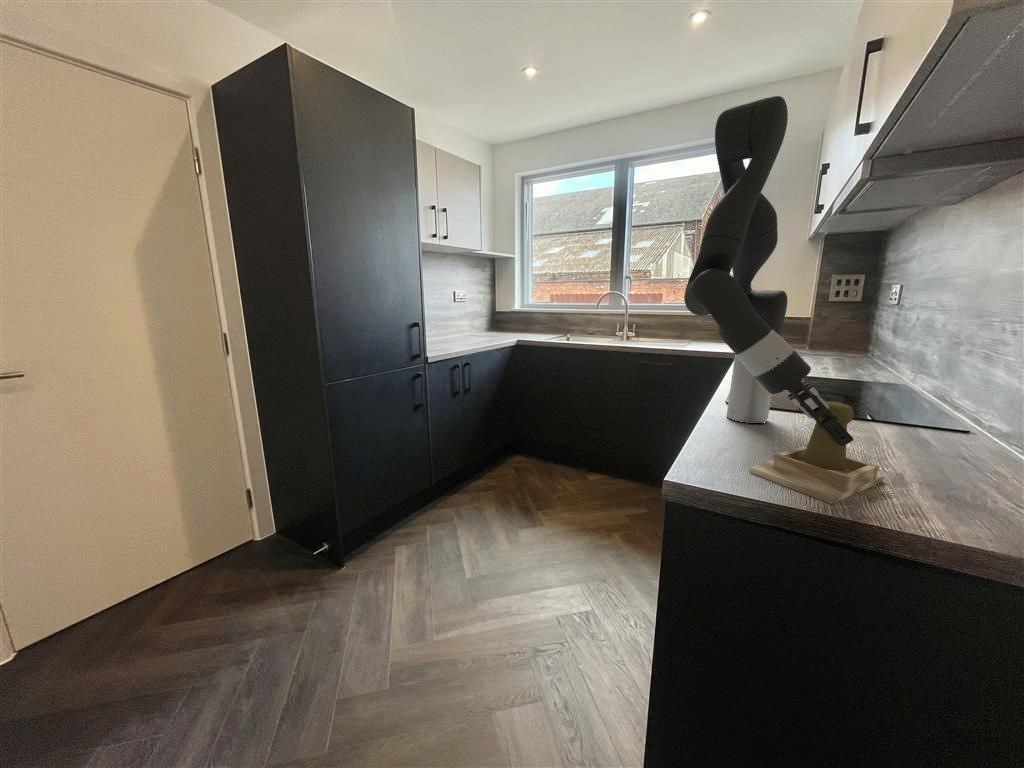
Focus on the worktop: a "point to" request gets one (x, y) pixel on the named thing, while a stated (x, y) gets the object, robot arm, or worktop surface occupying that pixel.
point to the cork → (828, 441)
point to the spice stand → (818, 476)
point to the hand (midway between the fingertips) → (842, 437)
